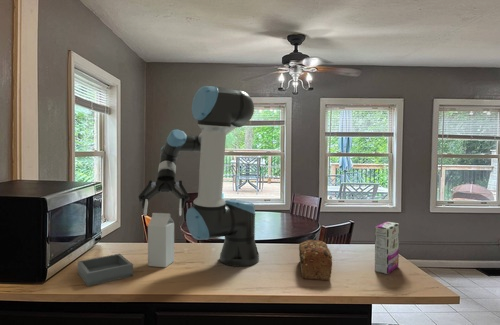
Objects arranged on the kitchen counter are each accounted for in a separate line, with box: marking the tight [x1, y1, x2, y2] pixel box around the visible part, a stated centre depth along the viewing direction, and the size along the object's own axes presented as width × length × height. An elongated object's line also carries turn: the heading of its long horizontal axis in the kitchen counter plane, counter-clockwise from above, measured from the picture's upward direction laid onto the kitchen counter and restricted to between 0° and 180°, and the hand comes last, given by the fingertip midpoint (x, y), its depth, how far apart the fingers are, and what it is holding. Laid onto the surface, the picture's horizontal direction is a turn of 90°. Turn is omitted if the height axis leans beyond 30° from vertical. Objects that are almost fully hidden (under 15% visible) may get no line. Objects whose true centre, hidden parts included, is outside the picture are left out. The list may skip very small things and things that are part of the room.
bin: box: [77, 253, 134, 287], centre depth 112 cm, size 14×14×4 cm
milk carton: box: [147, 212, 175, 268], centre depth 122 cm, size 7×7×19 cm
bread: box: [298, 239, 333, 281], centre depth 118 cm, size 19×11×10 cm, turn 173°
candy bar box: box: [374, 221, 400, 275], centre depth 119 cm, size 11×5×16 cm, turn 137°
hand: (162, 214), depth 130 cm, fingers open, 13 cm apart
